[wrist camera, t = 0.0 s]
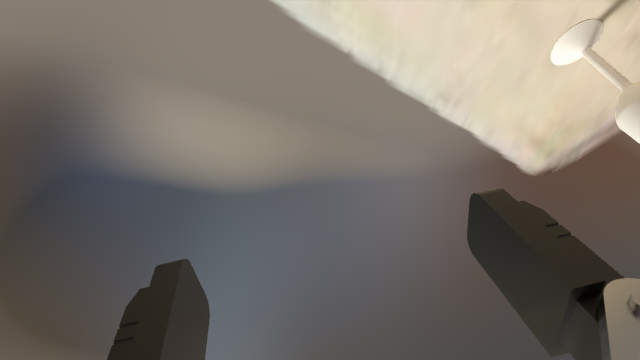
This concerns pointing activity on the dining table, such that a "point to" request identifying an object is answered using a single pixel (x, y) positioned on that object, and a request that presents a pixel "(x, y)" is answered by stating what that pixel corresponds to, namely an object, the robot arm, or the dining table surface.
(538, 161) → the dining table surface
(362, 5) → the dining table surface
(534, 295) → the robot arm
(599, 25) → the champagne flute
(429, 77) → the dining table surface
